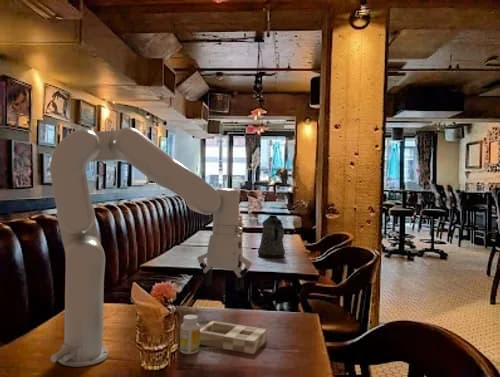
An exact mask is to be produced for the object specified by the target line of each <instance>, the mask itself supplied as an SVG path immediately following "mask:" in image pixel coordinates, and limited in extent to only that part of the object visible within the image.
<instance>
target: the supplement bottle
mask: <svg viewBox="0 0 500 377" xmlns="http://www.w3.org/2000/svg"><path fill="white" fill-rule="evenodd" d="M182 321H183V323H182V324H181V325H180V332H179V334H180V336H179V337H180V338H179V351H180V353H182V354H184V355H192V354H196V353H198V352H199V350H200V344H199V340H200V329H201V326H200V323H198V322H199V316H198V315H196V314H186V315H184V316H183V320H182Z"/></svg>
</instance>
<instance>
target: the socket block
mask: <svg viewBox="0 0 500 377" xmlns="http://www.w3.org/2000/svg"><path fill="white" fill-rule="evenodd" d="M267 332H268V330H267V329H266V328H260V327H255V326H248V325H242V324H235V323H230V322H224V321H223V322H222V321H216V320H212V321H210V322H208V323H207V324H206V325H204V326H202V327H200V340H199V345H202V346H207V347H211V348H212V347H213V348H219V349H224V350H229V351H235V352H240V353H246V354H251V355H254V354H255V353H256V352H257V351H258V350H259V349H260V348H261V347H262V346H264V344H265V343H266V342H267V336H268V333H267Z"/></svg>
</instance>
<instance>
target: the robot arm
mask: <svg viewBox="0 0 500 377" xmlns="http://www.w3.org/2000/svg"><path fill="white" fill-rule="evenodd" d="M118 160H124V161H126V162H127V163H128V164H130V165H131V166H132V167H133V168H134V169H137V171H138V172H140V173H141V174H143V175H144V176H145V177H147V179H149V180H151V182H153V183H154V184H156V185H157V186H160V187H162V188H165V189H167V190H169V191H171V192H173V193H174V194H175V195H177V196H178V197H180V198H182V199H183V200H185V204H186V205H187V207H188V208H189V209H190V210H191V211H193V212H195V213H199V214H202V215H205V216H209V215H212V216H213V217H212V233H211V234H210V236H209V239H208V240H209V241H208V244H207V252H206V253H204V254H201V255H199V256H197V257H196V259H197V262H198V264H199V266H200V268H201V270H202V271H203V272H202V273H203V274H204V283H205V284H204V285H205V287H210V286H212V284H213V271H212V269H218V270H228V271H233V272H234V273H235V275H236V277H235V280H234V291H236V292H238V291H240V290H242V288H243V285H244V284H243V282H244V276H245V275H246V274H247V273H248V272H249V271H250V269H251V267H252V265H253V262H251V261H250V260H249V259H248V258H246V257H244V256H243V254H244V252H243V242H242V236H241V235H240V233H242V232H243V228H242V227H240V224H239V221H240V220H239V215H240V214H239V213H240V192H239V190H238V189H235V188H225V187H224V188H214V187H213V186H211V185H210V184H209V183H208V182H206V181H205V180H204V179H203V178H201V177H200V176H199V175H197V174H196V173H195V172H194V171H193V170H191V169H190V168H187V166H185V165H183V163H181V162H180V161H178V160H176V158H173V157H172V156H171V155H169V154H168V153H167V152H166V151H165V150H163V149H162V148H161V147H159V146H158V145H157V144H155V143H154V142H153V141H152V140H151V139H150V138H149V137H147V135H145V134H143V133H142V132H140V130H138V129H136V128H134V127H131V126H130V127H129V126H127V127H122V128H120V129H116V130H101V131H93V130H90V129H87V128H79V129H76V130H74V131H71V132H70V133H68V134H67V136H65V137H64V138H62V139H61V141H60V142H59V143H58V144H57V146H55V148H54V150H53V152H52V156H51V159H50V164H49V171H50V172H49V173H50V181H51V186H52V191H53V198H54V201H55V206H56V220H57V223H58V226H59V231H60V235H61V240H62V244H63V248H64V253H65V255H64V256H65V265H64V266H65V274H64V275H65V278H64V280H65V283H64V284H65V286H64V290H65V291H64V341H63V342H64V343H63V344H61V349H59V351H57V352H55V353H53V354H51V355H50V361H51V362H52V363H56V362H58V363H60V364H61V365H64V366H65V367H72V368H73V367H79V368H80V367H87V366H92V365H96V364H98V363H99V364H100V363H101V362H103V361H105V360H106V359H107V358H108V357H109V349H108V348H107V347H106V346H104V344H103V341H104V339H103V338H104V336H103V335H104V293H105V292H104V288H105V286H104V285H105V283H104V282H105V270H106V269H105V268H106V255H105V254H106V253H105V251H104V250H105V249H104V248H103V246H102V244H101V242H100V238H99V237H100V236H99V232H98V227H97V223H96V211H95V207H94V206H93V204H92V199H91V194H90V191H89V189H90V188H89V184H88V178H87V166H88V165H89V163H92V162H105V161H106V162H107V161H108V162H109V161H118ZM205 259H206V262H205ZM243 264H244V265H245V266H244V268H243V269H242V267H243Z"/></svg>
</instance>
